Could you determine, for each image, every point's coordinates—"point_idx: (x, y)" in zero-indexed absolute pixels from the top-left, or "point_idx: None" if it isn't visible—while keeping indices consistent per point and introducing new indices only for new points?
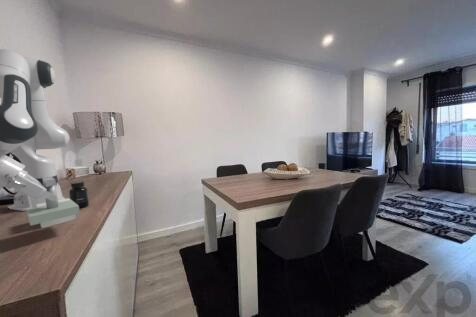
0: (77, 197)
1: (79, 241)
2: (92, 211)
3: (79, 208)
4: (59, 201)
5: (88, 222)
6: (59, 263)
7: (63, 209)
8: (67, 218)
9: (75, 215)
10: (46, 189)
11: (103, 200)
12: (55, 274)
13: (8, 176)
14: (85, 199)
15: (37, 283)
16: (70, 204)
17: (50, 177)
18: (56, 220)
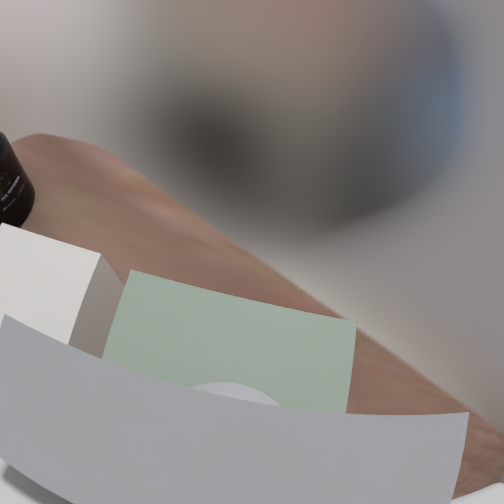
0: (1, 188)
1: (401, 389)
2: (106, 212)
3: (25, 216)
4: (6, 274)
5: (235, 292)
6: (466, 443)
7: (347, 398)
8: (113, 317)
9: (123, 285)
10: (501, 483)
11: (43, 139)
12: (490, 449)
13: None
14: (22, 175)
15: (488, 471)
16: (265, 333)
17: (52, 371)
18: (101, 356)
